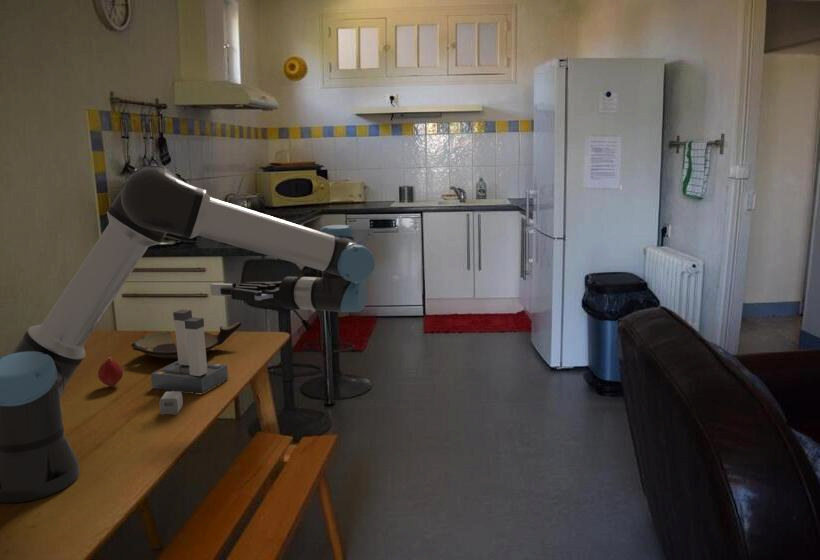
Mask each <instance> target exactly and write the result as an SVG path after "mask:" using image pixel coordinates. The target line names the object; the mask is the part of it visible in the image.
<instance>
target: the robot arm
mask: <svg viewBox="0 0 820 560" xmlns="http://www.w3.org/2000/svg"><path fill="white" fill-rule="evenodd" d="M106 214H107V219H108V225H107V226H106V228H105V229H104V230H103V232H102V233H101V234H100V236H99V238H98V239H97V241H96V243H95V244H94V245H93V247H92V249H90V251H89V252H88V254H87V256H86V258H85V259H84V260H83V262H82V263H81V264H80V266H79V268H78V269H77V270H76V272H75V273H74V275H73V277H72V278H71V280H70V281H69V283H68V284H67V286H66V287H65V289H64V290H63V291H62V293H61V294H60V296H59V298H58V299H57V301H56V302H55V304H54V305H53V306H52V308H51V309H50V311H49V312H48V314H47V315H46V316H45V319H44V320H43V321H42V323H40V324H37V325H31V326H29V328H27V330H26V332H25V333H24V335H23V336H22V338H21V339H20V341H19V342H18V344H17V345H16V347H15V348H14V349H13V350H12V352H11V353H9V354H7V355H3V356H0V503H5V504H7V503H8V504H11V503H12V504H15V503H25V502H30V501H31V502H32V501H34V500H35V501H36V500H39V499H43V498H45V497H48V496H51V495H54V494H56V493H58V492H60V491H62V490H64V489H66V488H68V487H70V486H71V485H72V484H73V483H75V482H76V481H77V479H78V478H79V476H80V474H81V470H80V464H79V463H80V462H79V459H78V458H77V455H76V453H75V452H74V450H73V448H72V447H71V444H70V443H69V441H68V439H67V437H66V435H65V430H64V422H63V413H62V408H61V398H62V396H63V394H64V391H65V389H66V386H67V384H68V383H69V381H70V380H71V378H72V376H73V375H74V374H75V372H76V371H77V369H78V368H79V367H80V365H81V363H82V361H83V360H84V359H85V356H86V350H85V348H84V345H85V343H86V341H87V340H88V339H89V337H90V335H92V334H91V333H92V332H93V331H94V330H95V328H96V326H97V325H98V323H99V322H100V321H101V319H102V317H103V316H104V314H105V313H106V311H107V310H108V308H109V307H110V305H111V304H112V302H113V301H114V299H115V298H116V296H117V295H118V293H119V292H120V290H121V289H122V287H123V286H124V284H125V283H126V281H127V279H128V278H129V277H130V275H131V274H132V272H133V271H134V269H135V268H136V267H137V265H138V263H139V262H140V261H141V259H142V257H143V256H144V255H145V253H146V251H147V250H148V248H149V247H153V246H156V245H160V244H162V241H163V240H164V238H165V237H166V235H167V234H171V235H175V236H178V237H183V238H186V239H193V238H196V237H198V236H199V237H203V238H205V239H209V240H214V241H216V242H219V243H220V242H221V243H225V244H228V245H231V246H234V247H237V248H241V249H245V250H248V251H252V252H255V253H258V254H263V255H265V256H270V257H273V258H276V259H279V260H284V261H286V262H291V263H292V264H293V263H294V264H297V265H300V266H304V267H308V268H311V269H315V270H318V271H321V277H320V276H319V277H317V276H302V277H301V276H290V275H289V276H288V275H287V276H285V277H284V278H283V279H282V280H281V281H279V280H278V281H245V282H244V283H242V282H240V283H238V284H237V282H233V283H223V282H213V283H210V284H209V285H210V286H209V287H210V295H211V296H218V297H221V296H222V297H231V298H230V299H231V300H236V301H237V300H238V301H243V302H252V303H255V304H259V305H261V304H263V301H264V302H269V303H276V302H277V301H278V302H279V303H280V305H281V307H282V308H284V309H285V310H303V311H304V310H307V311H311V313H315V312H316V311H323V312H337V313H343V314H344V313H360V312H361V311H362V310H364V309H365V307H366V305H367V302H368V295H369V294H368V287H367V283H366V282H365V281H366V280H368V279H369V278H370V276H371V275H372V273H373V272H374V270H375V265H376V264H375V263H376V261H375V257H374V254H373V253H372V251H371V250H369V248H368V247H367V246H365V245H363V244H360V243H358V242H356V241H355V235H354V228H353V227H352V226H350V225H348V224H331V225H325V226H322V227H321V228H320V230H316V229H314V228H310V227H307V226H305V225H300V224H296V223H295V222H294V223H293V222H291V221H288V220H285V219H282V218H278V217H274V216H271V215H269V214H265V213H263V212H259V211H256V210H253V209H249V208H246V207H243V206H241V205H238V204H233V203H231V202H230V203H229V202H227V201H223V200H220V199H217V198H215V197H212V196H210V195H209V193H208V191H207V190H206V189H204V188H201V187H198V186H194V185H192V184H190V183H187V182H186V181H183V180H182V179H181V178H180V176H178V175H177V174H175V172H173V170H170V169H168V167H167V168H166V167H164V166H160V165H147V166H142V167H140V168H138V169H136V170H134V171H133V172H132V173H131V174H130V176H129V177H127V179H126V181H125V182H124V184H123V186H122V188H121V190H120V192H119V193H118V195H117V196H116V197H115V199H114V200H113V202H112V204H111V205H110V206H109V208H108V209H107V211H106Z"/></svg>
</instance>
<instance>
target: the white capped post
mask: <svg viewBox="0 0 820 560" xmlns="http://www.w3.org/2000/svg"><path fill="white" fill-rule="evenodd" d="M172 315H173V316H172V317H173V321H174V329H175V330H174V331H175V341H176V348H177V353H178V359H177V361H178V364H180V365H189V359H188V347H187V336H186V329H185V320H187V319H190V318H192V317H193V314H192V310H191V309H179V310H178V309H177V310H175V311H173V312H172Z"/></svg>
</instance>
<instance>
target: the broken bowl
mask: <svg viewBox="0 0 820 560" xmlns="http://www.w3.org/2000/svg"><path fill="white" fill-rule="evenodd" d="M241 326H242V322H241V321H238V322H236V323H234V324H233V325H230V326H222V325H221V326H219V332H218V334H212V333H209V332H206V331H204V337H205V349H206V353H207V352H209V351H210V350H212V349H213V348H215V347H218V346H220V345H222V344H223V343H225V341H226V340H227V339H228V338H229V337H230V336H232V335H233V334H234V333H235V332H236V331H237V330H238V329H239V328H240V327H241ZM130 346H131V347H132V350H133V351H137V352H141V353H143V354H146V355H148V356H152V357H156V358H161V359H167V360H178V353H177V344H176V343H175V341H174V338H173V337H172V333H171V332H169V331H163V332H156V333H151V334H148V335H144V336H143V337H141V338H139V339H137V340H135V342H133V343H130Z"/></svg>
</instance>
